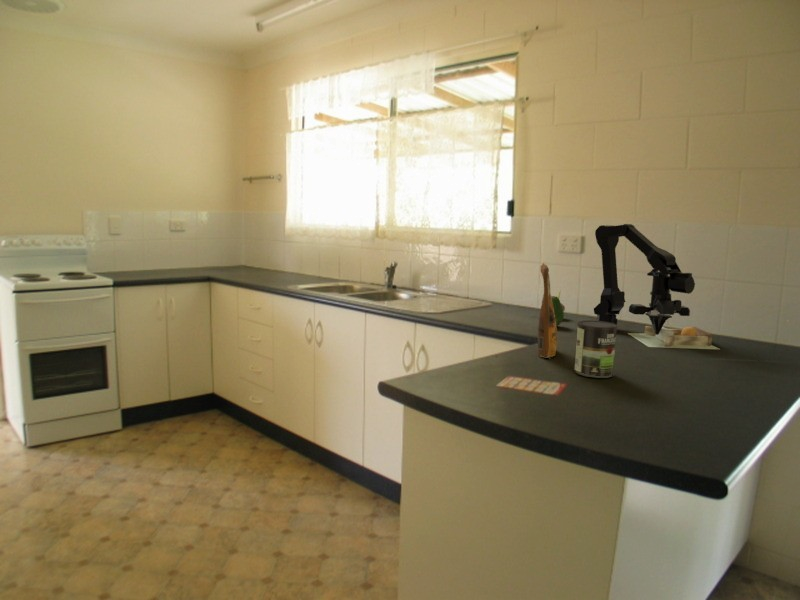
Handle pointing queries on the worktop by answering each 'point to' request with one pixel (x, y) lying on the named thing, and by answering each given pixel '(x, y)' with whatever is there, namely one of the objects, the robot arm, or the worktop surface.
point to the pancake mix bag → (547, 320)
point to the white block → (664, 334)
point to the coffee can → (595, 347)
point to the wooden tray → (684, 337)
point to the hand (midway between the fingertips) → (656, 334)
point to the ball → (689, 331)
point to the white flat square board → (655, 342)
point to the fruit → (557, 310)
